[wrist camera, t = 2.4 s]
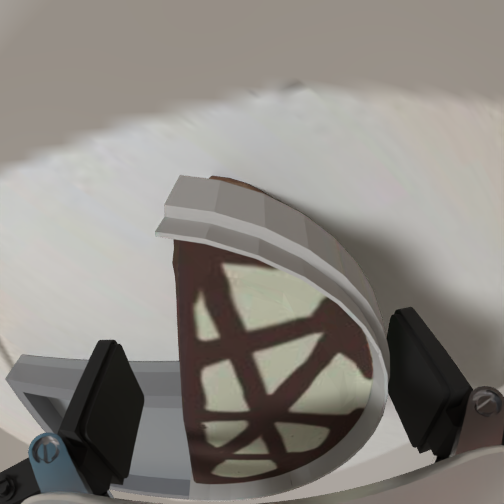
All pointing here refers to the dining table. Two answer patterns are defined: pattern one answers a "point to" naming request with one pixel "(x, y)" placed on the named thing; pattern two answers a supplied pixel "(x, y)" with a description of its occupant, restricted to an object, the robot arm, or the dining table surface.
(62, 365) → the tray
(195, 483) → the food container
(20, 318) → the dining table surface
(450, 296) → the dining table surface
